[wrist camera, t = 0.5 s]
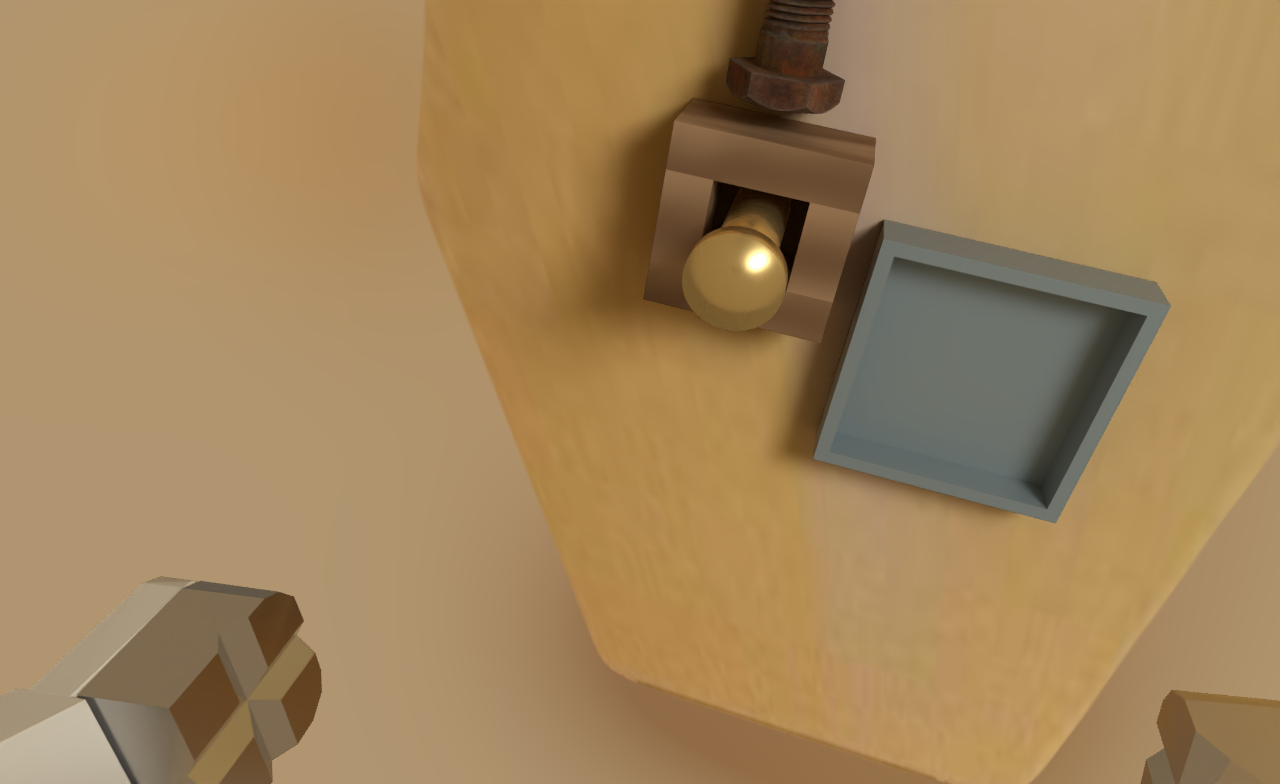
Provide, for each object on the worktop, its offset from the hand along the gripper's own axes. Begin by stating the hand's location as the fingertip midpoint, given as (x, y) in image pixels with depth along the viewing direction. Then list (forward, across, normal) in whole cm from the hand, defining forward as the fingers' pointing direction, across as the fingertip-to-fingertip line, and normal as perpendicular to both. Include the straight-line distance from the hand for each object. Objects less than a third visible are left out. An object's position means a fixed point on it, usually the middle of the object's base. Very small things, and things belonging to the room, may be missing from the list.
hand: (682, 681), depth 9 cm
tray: (+44, -7, +19) cm, 48 cm away
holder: (+44, +5, +9) cm, 45 cm away
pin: (+44, +5, +9) cm, 45 cm away
